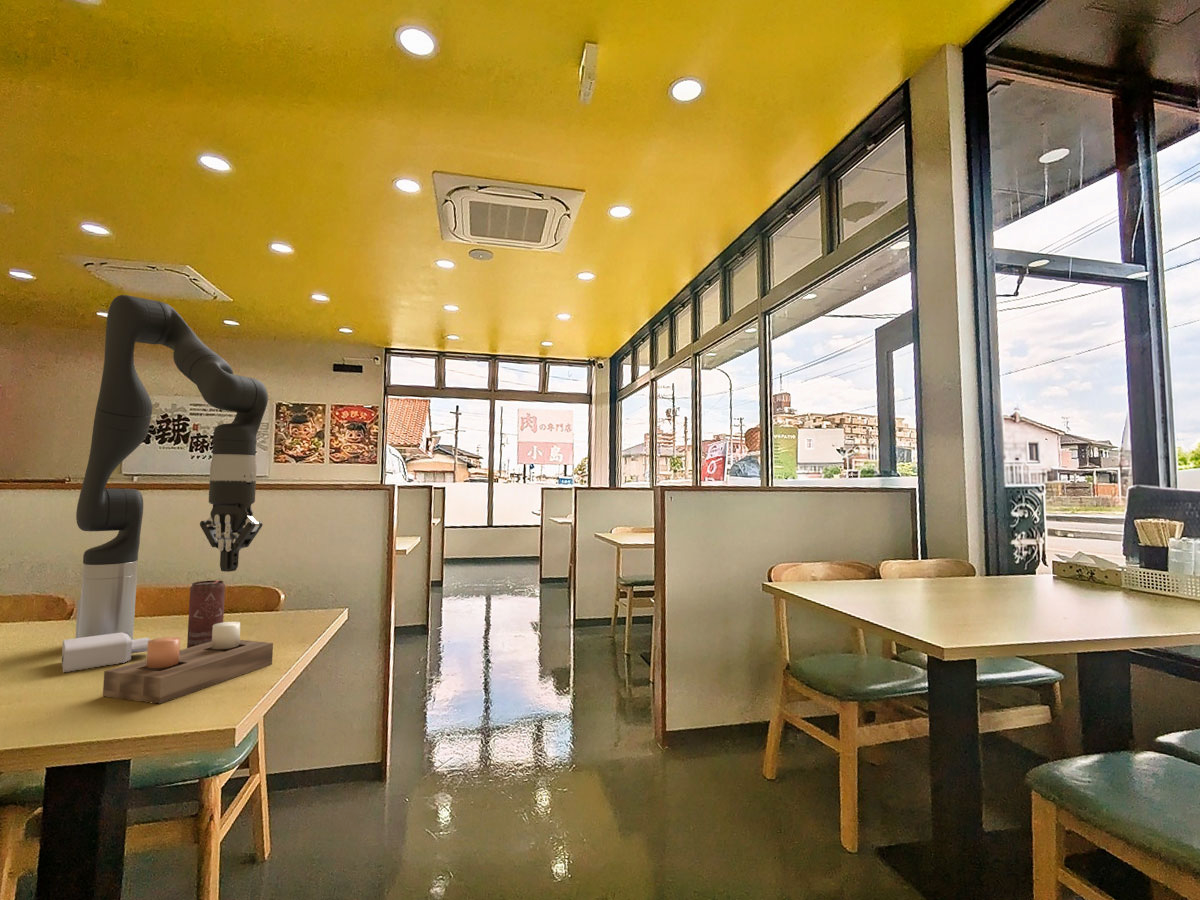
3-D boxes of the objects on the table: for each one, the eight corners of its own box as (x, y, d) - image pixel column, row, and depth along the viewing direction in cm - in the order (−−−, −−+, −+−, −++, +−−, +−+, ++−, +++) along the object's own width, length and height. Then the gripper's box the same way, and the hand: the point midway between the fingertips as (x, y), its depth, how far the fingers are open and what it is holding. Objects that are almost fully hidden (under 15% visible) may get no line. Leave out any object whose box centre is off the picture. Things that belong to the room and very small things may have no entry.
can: (229, 646, 126) (233, 579, 127) (207, 654, 119) (210, 584, 120) (203, 645, 126) (206, 579, 127) (179, 653, 120) (183, 583, 121)
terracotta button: (139, 666, 97) (141, 642, 98) (165, 659, 102) (166, 635, 102) (160, 669, 96) (161, 644, 96) (185, 661, 100) (186, 637, 101)
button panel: (102, 696, 95) (104, 671, 96) (222, 658, 117) (223, 638, 117) (159, 704, 92) (160, 678, 92) (272, 664, 113) (273, 642, 114)
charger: (165, 658, 117) (63, 674, 107) (157, 649, 124) (60, 663, 113) (166, 634, 118) (65, 648, 107) (158, 626, 124) (62, 638, 114)
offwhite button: (205, 648, 109) (206, 626, 109) (226, 642, 113) (227, 621, 113) (224, 650, 108) (225, 627, 108) (244, 643, 112) (245, 622, 112)
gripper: (187, 478, 111) (182, 572, 109) (244, 478, 107) (239, 575, 106) (223, 479, 118) (218, 567, 117) (277, 479, 114) (273, 570, 113)
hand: (228, 570), depth 111 cm, fingers closed
